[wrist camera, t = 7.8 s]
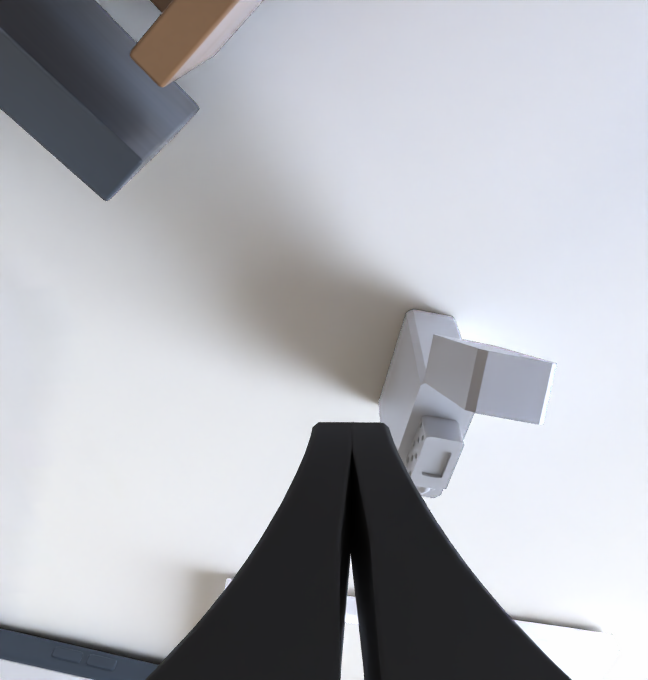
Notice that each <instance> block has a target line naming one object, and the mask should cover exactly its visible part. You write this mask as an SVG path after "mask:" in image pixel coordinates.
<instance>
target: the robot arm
mask: <svg viewBox="0 0 648 680" xmlns="http://www.w3.org/2000/svg"><path fill="white" fill-rule="evenodd" d="M350 554H351V561H352V570H353V579H354V588H355V597H356V606H357V615H358V624H359V632H360V641H361V650H362V659H363V668H364V680H572V679H571V678H570V677H569V676H568V675H567V674H566V673H565V672H563V671H562V670H561V669H560V668H559V667H558V666H557V665H556V664H555V663H554V662H553V661H552V660H551V659H550V658H549V657H548V656H547V655H546V654H545V653H544V652H543V651H542V650H541V649H540V648H539V647H538V645H537V644H536V643H535V642H534V641H533V640H532V639H531V638H530V637H529V636H528V635H527V634H526V633H525V632H524V631H523V630H522V629H521V628H520V627H519V626H518V625H517V623H516V622H515V621H514V620H513V619H512V618H511V617H510V616H509V615H508V614H507V613H506V612H505V611H504V609H503V608H502V607H501V606H500V605H499V604H498V602H497V601H496V600H495V599H494V598H493V597H492V595H491V594H490V593H489V592H488V591H487V589H486V588H485V587H484V586H483V585H482V583H481V582H480V581H479V580H478V578H477V577H476V576H475V574H474V573H473V572H472V571H471V569H470V568H469V567H468V566H467V564H466V563H465V562H464V560H463V559H462V558H461V556H460V555H459V553H458V552H457V551H456V549H455V548H454V546H453V545H452V544H451V542H450V541H449V539H448V538H447V536H446V535H445V533H444V532H443V530H442V529H441V527H440V526H439V524H438V523H437V521H436V520H435V518H434V517H433V515H432V513H431V512H430V510H429V509H428V507H427V505H426V503H425V502H424V500H423V498H422V497H421V495H420V493H419V491H418V490H417V488H416V486H415V484H414V483H413V481H412V479H411V477H410V475H409V473H408V471H407V469H406V467H405V465H404V463H403V461H402V459H401V457H400V455H399V453H398V450H397V448H396V446H395V443H394V441H393V438H392V435H391V432H390V429H389V427H388V426H387V425H386V424H385V423H357V422H318V423H317V424H316V425H315V426H314V427H313V428H312V433H311V437H310V440H309V443H308V446H307V449H306V452H305V454H304V457H303V459H302V462H301V464H300V466H299V469H298V471H297V473H296V475H295V477H294V479H293V481H292V483H291V485H290V487H289V489H288V491H287V493H286V495H285V497H284V499H283V501H282V503H281V505H280V507H279V508H278V510H277V512H276V514H275V515H274V517H273V519H272V520H271V522H270V524H269V525H268V527H267V529H266V531H265V532H264V534H263V536H262V537H261V539H260V540H259V542H258V544H257V545H256V547H255V548H254V550H253V551H252V553H251V554H250V556H249V557H248V559H247V560H246V562H245V563H244V564H243V566H242V567H241V569H240V570H239V571H238V573H237V574H236V575H235V577H234V578H233V580H232V581H231V582H230V584H229V585H228V586H227V587H226V589H225V590H224V591H223V593H222V594H221V595H220V596H219V598H218V599H217V600H216V601H215V603H214V604H213V605H212V606H211V608H210V609H209V610H208V611H207V613H206V614H205V615H204V616H203V617H202V619H201V620H200V621H199V622H198V623H197V624H196V626H195V627H194V628H193V629H192V630H191V631H190V632H189V633H188V635H187V636H186V637H185V638H184V639H183V640H182V641H181V642H180V643H179V644H178V645H177V646H176V647H175V648H174V650H173V651H172V652H171V653H170V654H169V655H168V656H167V657H166V658H165V659H164V660H163V661H162V662H161V663H160V665H159V666H158V667H157V668H156V669H155V670H154V671H153V672H152V673H151V674H150V675H149V676H148V677H147V678H146V679H145V680H340V678H341V661H342V649H343V638H344V626H345V614H346V602H347V590H348V578H349V566H350Z"/></svg>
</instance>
